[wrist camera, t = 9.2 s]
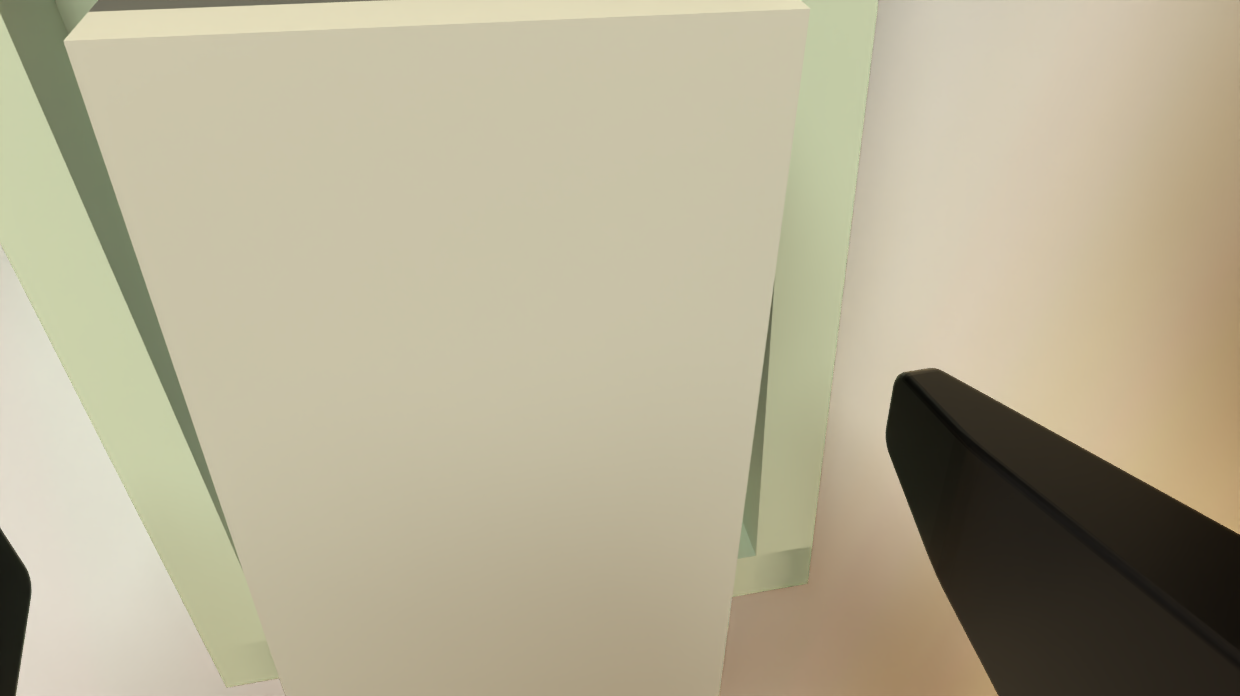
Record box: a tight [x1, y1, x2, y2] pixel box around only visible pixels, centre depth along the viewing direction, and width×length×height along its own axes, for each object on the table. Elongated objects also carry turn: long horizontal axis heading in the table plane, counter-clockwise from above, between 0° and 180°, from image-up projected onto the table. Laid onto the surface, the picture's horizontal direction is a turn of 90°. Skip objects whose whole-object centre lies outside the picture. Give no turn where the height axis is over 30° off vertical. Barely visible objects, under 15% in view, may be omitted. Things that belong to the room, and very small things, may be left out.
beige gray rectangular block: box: [63, 0, 810, 696], centre depth 11 cm, size 5×9×5 cm, turn 0°
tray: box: [0, 0, 879, 688], centre depth 13 cm, size 10×14×2 cm
